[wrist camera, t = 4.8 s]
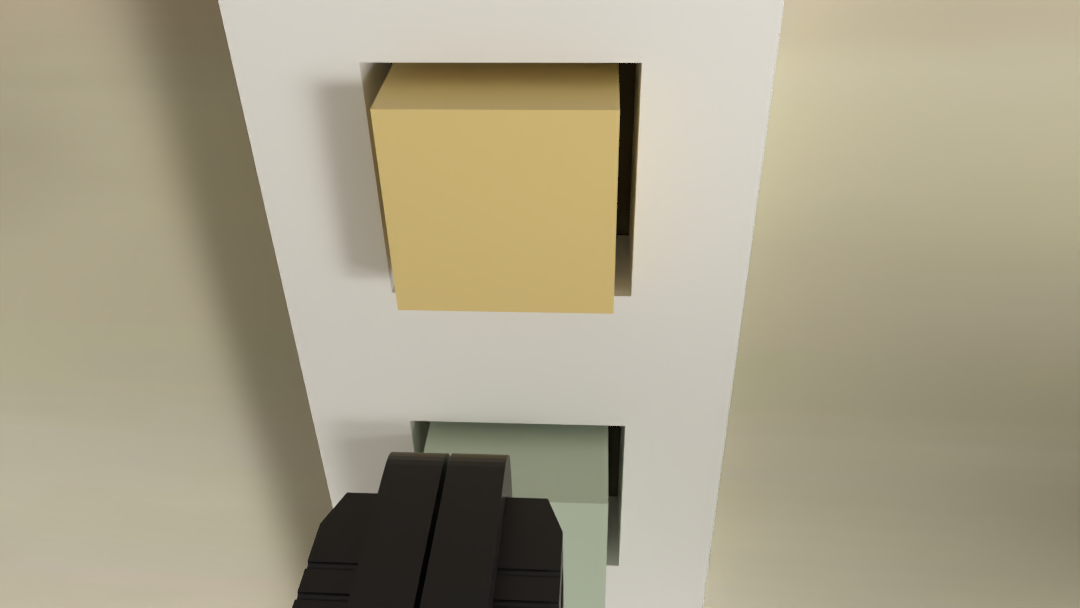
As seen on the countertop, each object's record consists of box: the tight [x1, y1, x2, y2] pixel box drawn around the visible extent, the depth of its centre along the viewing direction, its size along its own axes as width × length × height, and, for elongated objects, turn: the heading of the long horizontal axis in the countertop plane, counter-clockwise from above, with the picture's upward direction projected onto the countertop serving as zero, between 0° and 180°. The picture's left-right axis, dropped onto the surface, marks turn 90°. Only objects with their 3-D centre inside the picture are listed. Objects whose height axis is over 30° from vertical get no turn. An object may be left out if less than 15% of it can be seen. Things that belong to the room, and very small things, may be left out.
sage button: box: [424, 421, 608, 608], centre depth 23 cm, size 4×4×3 cm
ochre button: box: [370, 63, 620, 314], centre depth 19 cm, size 4×4×3 cm
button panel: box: [218, 0, 784, 608], centre depth 25 cm, size 10×32×3 cm, turn 1°
